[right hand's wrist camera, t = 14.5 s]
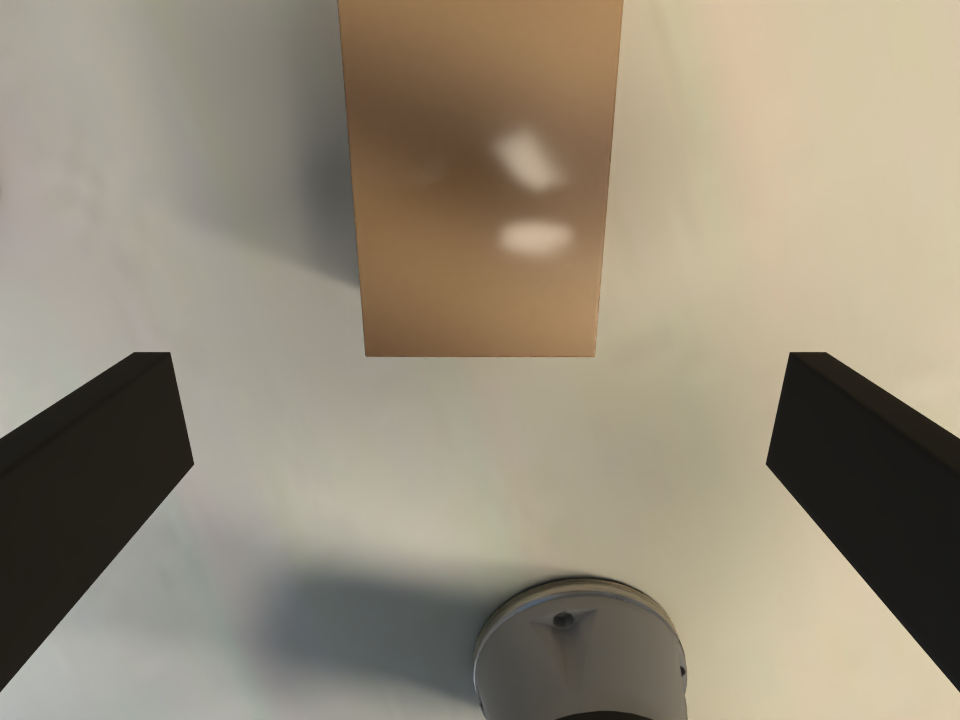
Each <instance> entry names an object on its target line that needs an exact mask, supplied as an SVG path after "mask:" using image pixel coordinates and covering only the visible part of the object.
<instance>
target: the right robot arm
mask: <svg viewBox="0 0 960 720" xmlns="http://www.w3.org/2000/svg"><path fill="white" fill-rule="evenodd" d="M193 465H194V461H193V456H192V452H191V447H190V442H189V438H188V433H187V428H186V424H185V419H184V414H183V410H182V405H181V400H180V396H179V391H178V386H177V382H176V377H175V372H174V368H173V363H172V358H171V354H170V352H134V353H132V354H131V355H129V356H127V357H126V358H124V359H123V360H121V361H120V362H118V363H117V364H115V365H114V366H112V367H110V368H109V369H107V370H106V371H104V372H103V373H101V374H100V375H98V376H97V377H95V378H93V379H92V380H90V381H89V382H87V383H86V384H84V385H83V386H81V387H80V388H78V389H76V390H75V391H73V392H72V393H70V394H69V395H67V396H66V397H64V398H63V399H61V400H59V401H58V402H56V403H55V404H53V405H52V406H50V407H49V408H47V409H46V410H44V411H42V412H41V413H39V414H38V415H36V416H35V417H33V418H32V419H30V420H29V421H27V422H25V423H24V424H22V425H21V426H19V427H18V428H16V429H15V430H13V431H12V432H10V433H8V434H7V435H5V436H4V437H2V438H1V439H0V692H1V691H2V690H3V688H4V687H5V686H6V685H7V684H8V683H9V681H10V680H11V679H12V678H13V677H14V675H15V674H16V673H17V672H18V671H19V670H20V668H21V667H22V666H23V665H24V664H25V663H26V661H27V660H28V659H29V658H30V657H31V655H32V654H33V653H34V652H35V651H36V650H37V648H38V647H39V646H40V645H41V644H42V643H43V641H44V640H45V639H46V638H47V637H48V636H49V634H50V633H51V632H52V631H53V630H54V628H55V627H56V626H57V625H58V624H59V623H60V621H61V620H62V619H63V618H64V617H65V616H66V614H67V613H68V612H69V611H70V610H71V608H72V607H73V606H74V605H75V604H76V603H77V601H78V600H79V599H80V598H81V597H82V596H83V594H84V593H85V592H86V591H87V590H88V589H89V587H90V586H91V585H92V584H93V583H94V581H95V580H96V579H97V578H98V577H99V576H100V574H101V573H102V572H103V571H104V570H105V569H106V567H107V566H108V565H109V564H110V563H111V561H112V560H113V559H114V558H115V557H116V556H117V554H118V553H119V552H120V551H121V550H122V549H123V547H124V546H125V545H126V544H127V543H128V541H129V540H130V539H131V538H132V537H133V536H134V534H135V533H136V532H137V531H138V530H139V529H140V527H141V526H142V525H143V524H144V523H145V522H146V520H147V519H148V518H149V517H150V516H151V514H152V513H153V512H154V511H155V510H156V509H157V507H158V506H159V505H160V504H161V503H162V502H163V500H164V499H165V498H166V497H167V496H168V494H169V493H170V492H171V491H172V490H173V489H174V487H175V486H176V485H177V484H178V483H179V482H180V480H181V479H182V478H183V477H184V476H185V475H186V473H187V472H188V471H189V470H190V469H191V467H192V466H193ZM766 465H767V466H768V467H769V469H770V470H771V471H772V472H773V473H774V475H775V476H776V477H777V478H778V479H779V480H780V482H781V483H782V484H783V485H784V486H785V487H786V489H787V490H788V491H789V492H790V493H791V494H792V496H793V497H794V498H795V499H796V500H797V502H798V503H799V504H800V505H801V506H802V507H803V509H804V510H805V511H806V512H807V513H808V514H809V516H810V517H811V518H812V519H813V520H814V522H815V523H816V524H817V525H818V526H819V527H820V529H821V530H822V531H823V532H824V533H825V534H826V536H827V537H828V538H829V539H830V540H831V541H832V543H833V544H834V545H835V546H836V547H837V549H838V550H839V551H840V552H841V553H842V554H843V556H844V557H845V558H846V559H847V560H848V561H849V563H850V564H851V565H852V566H853V567H854V569H855V570H856V571H857V572H858V573H859V574H860V576H861V577H862V578H863V579H864V580H865V581H866V583H867V584H868V585H869V586H870V587H871V589H872V590H873V591H874V592H875V593H876V594H877V596H878V597H879V598H880V599H881V600H882V601H883V603H884V604H885V605H886V606H887V607H888V608H889V610H890V611H891V612H892V613H893V614H894V616H895V617H896V618H897V619H898V620H899V621H900V623H901V624H902V625H903V626H904V627H905V628H906V630H907V631H908V632H909V633H910V634H911V636H912V637H913V638H914V639H915V640H916V641H917V643H918V644H919V645H920V646H921V647H922V648H923V650H924V651H925V652H926V653H927V654H928V655H929V657H930V658H931V659H932V660H933V661H934V663H935V664H936V665H937V666H938V667H939V668H940V670H941V671H942V672H943V673H944V674H945V675H946V677H947V678H948V679H949V680H950V681H951V683H952V684H953V685H954V686H955V687H956V688H957V690H958V691H959V692H960V439H959V438H958V437H956V436H955V435H953V434H952V433H950V432H948V431H947V430H945V429H944V428H942V427H941V426H939V425H938V424H936V423H935V422H933V421H931V420H930V419H928V418H927V417H925V416H924V415H922V414H921V413H919V412H918V411H916V410H914V409H913V408H911V407H910V406H908V405H907V404H905V403H904V402H902V401H901V400H899V399H897V398H896V397H894V396H893V395H891V394H890V393H888V392H887V391H885V390H884V389H882V388H880V387H879V386H877V385H876V384H874V383H873V382H871V381H870V380H868V379H867V378H865V377H863V376H862V375H860V374H859V373H857V372H856V371H854V370H853V369H851V368H850V367H848V366H846V365H845V364H843V363H842V362H840V361H839V360H837V359H836V358H834V357H833V356H831V355H829V354H828V353H826V352H790V354H789V358H788V363H787V368H786V372H785V377H784V382H783V386H782V391H781V396H780V400H779V405H778V410H777V414H776V419H775V424H774V428H773V433H772V438H771V442H770V447H769V452H768V456H767V461H766ZM474 685H475V690H476V695H477V699H478V702H479V705H480V707H481V709H482V712H483V714H484V716H485V718H486V720H687V706H686V699H685V692H686V686H687V668H686V662H685V655H684V651H683V648H682V645H681V643H680V640H679V637H678V635H677V632H676V630H675V627H674V625H673V623H672V621H671V619H670V618H669V617H668V615H667V614H666V612H665V611H664V610H663V609H662V608H661V607H660V606H659V605H658V604H657V603H656V602H654V601H653V600H652V599H650V598H649V597H647V596H646V595H644V594H643V593H641V592H639V591H637V590H635V589H632V588H630V587H628V586H625V585H622V584H619V583H614V582H610V581H605V580H598V579H568V580H561V581H555V582H551V583H546V584H543V585H540V586H537V587H534V588H532V589H529V590H527V591H525V592H523V593H521V594H519V595H517V596H515V597H514V598H512V599H511V600H509V601H508V602H506V603H505V604H504V605H502V606H501V607H500V608H499V609H498V610H497V611H496V612H495V613H494V614H493V615H492V616H491V617H490V618H489V619H488V621H487V622H486V624H485V625H484V626H483V628H482V630H481V632H480V634H479V636H478V639H477V642H476V646H475V651H474Z"/></svg>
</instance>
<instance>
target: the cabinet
mask: <svg viewBox="0 0 960 720" xmlns="http://www.w3.org/2000/svg"><path fill="white" fill-rule="evenodd" d="M622 11H623V0H338V12H339V25H340V38H341V50H342V63H343V76H344V89H345V101H346V114H347V127H348V140H349V152H350V165H351V178H352V191H353V203H354V216H355V229H356V242H357V254H358V267H359V280H360V293H361V305H362V318H363V331H364V344H365V355H366V357H594V356H595V347H596V335H597V322H598V310H599V297H600V285H601V272H602V260H603V247H604V235H605V223H606V210H607V198H608V185H609V173H610V160H611V148H612V135H613V123H614V110H615V98H616V86H617V73H618V61H619V48H620V36H621V23H622Z"/></svg>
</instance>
